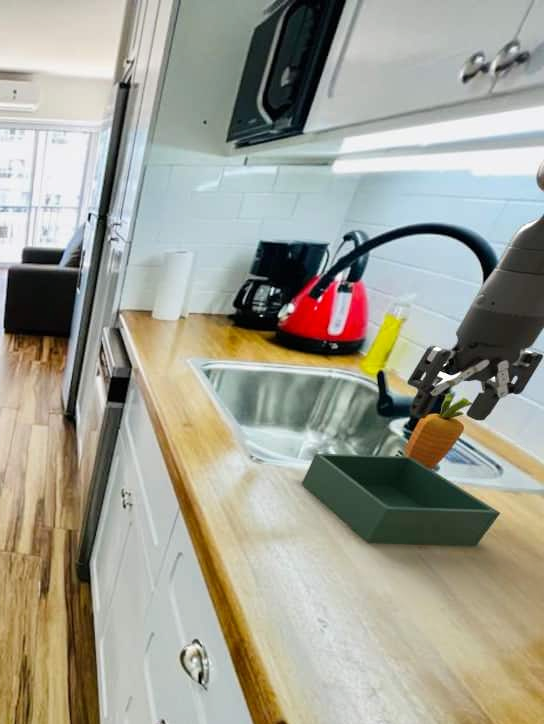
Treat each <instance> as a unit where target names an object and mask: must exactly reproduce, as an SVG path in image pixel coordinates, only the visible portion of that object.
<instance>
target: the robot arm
mask: <svg viewBox="0 0 544 724" xmlns="http://www.w3.org/2000/svg"><path fill="white" fill-rule="evenodd" d="M535 181H536V184H537V186H538V188H539V189H540V191H542V193H544V159H543V160H542V162H541V163H540V165H539V167H538V169H537V172H536V176H535ZM543 330H544V212H543V213H542V214H541V216H540V217H538V218H537V219H534V220H530V221H529V222H526V223H524V224H523V225H521V226H520V227H519V228H518V229H517V230H516V231H515V233H514V234H513V235H512V237H511V238H510V240H509V241H508V244H507V246H506V247H505V249H504V251H503V253H502V254H501V256H500V258H499V259H498V261H497V263H496V265H495V268H494V269H493V270H492V272H491V273H490V275H489V276H488V277H487V279H486V280H485V281H484V282H483V284H482V285H481V287H480V289H479V290H478V292H477V294H476V296H475V298H474V300H473V301H472V303H471V304H470V307H469V308H468V310H467V312H466V313H465V315H464V317H463V319H462V321H461V323H460V325H459V326H458V327H457V330H456V332H455V336H456V338H457V341H456V343H455V344H454V345H453V346H452V347H451V348H450V349H449V348H442V347H440V346H436V345H430V346H428V347H427V348H426V350H425V352H424V353H423V355H422V356H421V358H420V360H419V362H418V363H417V365H416V367H415V368H414V370H413V372H412V373H411V375H410V376H409V378H408V379H407V385H409V386H411V387H413V388H415V389H417V392H416V395H415V396H414V398H413V400H412V402H411V404H410V406H409V407H408V411H409V415H411V416H413V417H415V418H417V419H421V418H426V417H427V415H429V414H430V412H431V410H432V408H433V406H434V405H435V403H436V402H437V400H438V398H439V395H440V394H441V393H443V392H444V391H445V390H447V389H448V388H450V387H455V386H457V385H459V384H460V383H462V382H473V381H478V382H480V385H481V390H482V392H480V391H479V392H478V394H477V395H476V397H475V399H474V400H473V402H471V403H472V405H469V406H470V407H469V408H468V410H467V411H466V414H465V415H466V416H467V417H468V418H470V419H472V420H475V421H480V422H481V421H485V420H486V419H487V417H488V416H490V415H491V414H492V411H493V410H494V408H496V406H497V404H498V402H499V401H500V400H501V399H503V398H505V397H507V396H508V395H512V394H513V395H520V394H521V393H523V391H524V390H525V389H526V387H527V385H528V383H529V382H530V380H531V378H532V376H533V375H534V373H535V372H536V370H537V368H538V367H539V366H540V363H541V362H542V361H543V358H544V355H543V354H542V353H539V352H536V351H534V350H530V349H529V348H531V347H532V346H533V345H534V344H535V342H536V341H537V339H538V338H539V337H540V335H541V333H542V331H543ZM447 372H449V374H447ZM423 376H424V377H423ZM515 377H517V379H516V380H515V382H514V383H513V380H514V378H515ZM437 382H438V383H437Z"/></svg>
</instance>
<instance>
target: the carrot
mask: <svg viewBox="0 0 544 724" xmlns="http://www.w3.org/2000/svg"><path fill="white" fill-rule="evenodd" d="M444 395H445V396H444V400H443V402H442V403H441V409H440V414H439V413H429V414H428V415H427V417H426V418H419V420H418V422H417V424H416V426H415V428H414V429H413V431H412V433H411V435H410V438H409V439H408V441H407V445H406V448H405V452H404V455H403V456H410V457H411V458H413V459H415V460H416V461H418V462H420V463H421V464H423V465H424V466H426V467H428V468H429V469H431V470H433V469H434V468H435V467H436V466H437V465H438V464H439V463H440V462H441V461H442V460H443V459H444V458H445V457H446V456H447V455H448V453H449V452H451V450H452V448H453V447H454V446H455V444H456V443H457V441H458V440H459V438H460V437H461V435H462V434H463V432H464V430H465V426H464V424H463V423H462V422H461V421H459V419H457V418H456V417H460V416H462V415H464V412H462V411H459V410H461V409H463V408H466V407H468V406H471V405H472V403H473V402H471V401H469V399H468V398H467V397H461V399H459V400H457V401H456V402H454V403H453V404H451V403H452V400H453V393H446V394H444Z"/></svg>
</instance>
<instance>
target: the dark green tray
mask: <svg viewBox="0 0 544 724" xmlns="http://www.w3.org/2000/svg"><path fill="white" fill-rule="evenodd" d="M301 485H302V486H303V487H305V489H307V490H308V491H309V492H310V493H311V494H312V495H313V496H315V498H316V499H318V500H319V501H320V502H321V503H322V504H323V505H324V506H326V507H327V508H328V509H329V510H330V511H331V512H332V513H334V514H335V515H336V517H338V518H339V520H341V521H342V522H344V523H345V524H346V525H347V526H348V527H349V528H350V529H351V530H352V531H353V532H355V533H356V534H357V535H358V536H359V537H360V538H361V539H362V540H363V541H365V543H367V544H388V545H389V544H390V545H418V546H419V545H420V546H421V545H422V546H447V547H448V546H449V547H472V548H473V547H476V548H477V546H478V544H479V543H480V542H481V540H482V539H483V537H484V536H485V535H486V533H487V532H488V531H489V529H490V528H491V527H492V525H493V524H494V523H495V521H496V520H497V518H498V517H499V516H500V514H501V512H500V511H499V510H497V509H495V508H493V506H490V505H489V504H488V503H486V502H484V501H482V500H481V499H479V498H477V497H476V496H475V495H473V494H471V493H470V492H468V491H466V490H465V489H463V488H461V487H460V486H458V485H456V484H455V483H453V482H452V481H450V480H448V479H447V478H446V477H444V476H442V475H440V473H437V472H436V471H434V470H433V469H429V468H428V467H426V466H424V465H423V464H421V463H420V462H418V461H416V460H415V459H413V458H411V457H410V456H404V455H376V454H342V453H317V452H316V453H315V454H314V456H313V459H312V461H311V463H310V464H309V467H308V469H307V471H306V474H305V476H304V478H303V480H302V482H301Z"/></svg>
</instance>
